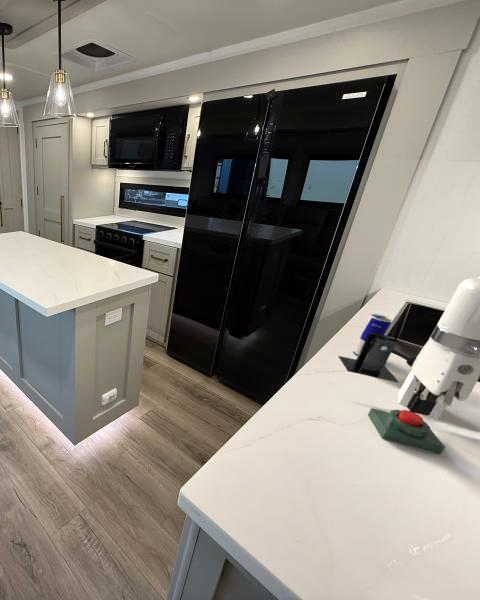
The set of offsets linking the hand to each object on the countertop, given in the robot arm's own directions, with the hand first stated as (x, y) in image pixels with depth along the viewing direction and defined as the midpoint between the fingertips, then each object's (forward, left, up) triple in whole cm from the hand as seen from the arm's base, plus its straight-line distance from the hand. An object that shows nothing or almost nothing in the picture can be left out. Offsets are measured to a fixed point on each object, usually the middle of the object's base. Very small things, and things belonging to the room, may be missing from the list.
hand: (417, 411), depth 68 cm
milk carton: (-8, -13, -7) cm, 16 cm away
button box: (0, 0, -7) cm, 7 cm away
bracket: (-2, -27, -7) cm, 28 cm away
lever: (-6, -27, 0) cm, 27 cm away
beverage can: (-4, -36, -7) cm, 37 cm away
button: (0, 0, -3) cm, 3 cm away
